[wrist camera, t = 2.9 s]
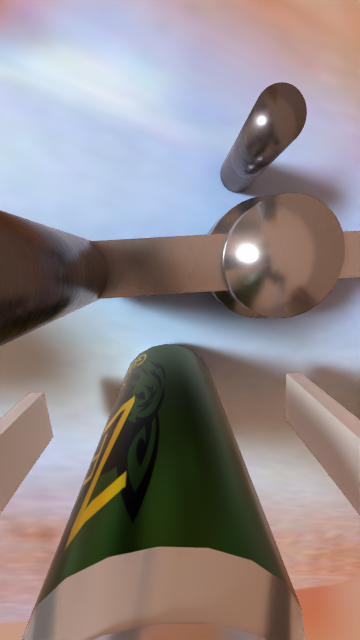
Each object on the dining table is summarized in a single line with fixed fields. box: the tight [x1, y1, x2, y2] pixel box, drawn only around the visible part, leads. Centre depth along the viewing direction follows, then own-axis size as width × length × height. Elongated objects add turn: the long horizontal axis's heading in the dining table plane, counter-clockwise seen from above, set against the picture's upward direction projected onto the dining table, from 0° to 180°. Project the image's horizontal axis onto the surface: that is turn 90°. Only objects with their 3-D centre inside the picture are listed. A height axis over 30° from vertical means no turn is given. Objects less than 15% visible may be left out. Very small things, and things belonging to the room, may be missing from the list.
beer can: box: [22, 344, 305, 640], centre depth 9 cm, size 5×5×12 cm
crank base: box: [208, 82, 307, 318], centre depth 12 cm, size 19×6×5 cm, turn 168°
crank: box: [0, 193, 360, 346], centre depth 7 cm, size 16×5×9 cm, turn 93°
